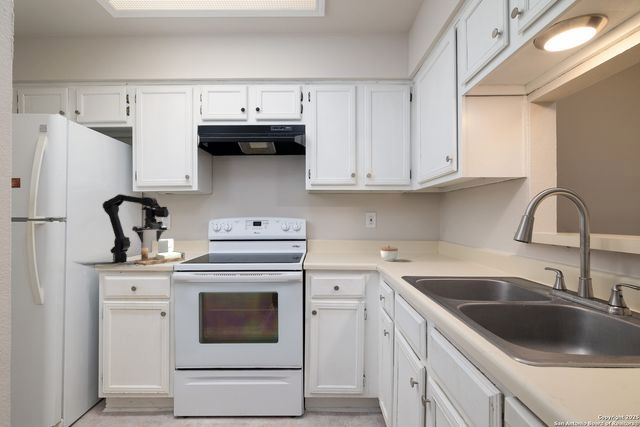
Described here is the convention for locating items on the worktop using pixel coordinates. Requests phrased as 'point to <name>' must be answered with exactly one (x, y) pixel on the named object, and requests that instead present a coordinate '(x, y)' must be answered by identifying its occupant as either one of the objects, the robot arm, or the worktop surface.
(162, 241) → the supplement box
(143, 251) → the dowel
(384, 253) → the lidded jar
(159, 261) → the rail base
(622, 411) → the worktop surface
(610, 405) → the worktop surface
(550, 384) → the worktop surface
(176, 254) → the socket block
